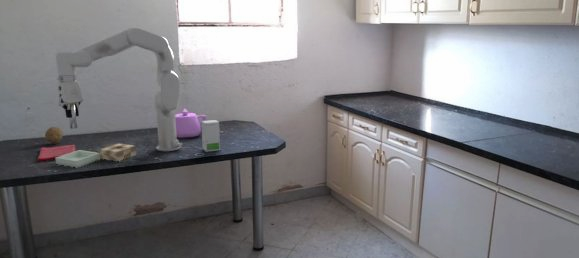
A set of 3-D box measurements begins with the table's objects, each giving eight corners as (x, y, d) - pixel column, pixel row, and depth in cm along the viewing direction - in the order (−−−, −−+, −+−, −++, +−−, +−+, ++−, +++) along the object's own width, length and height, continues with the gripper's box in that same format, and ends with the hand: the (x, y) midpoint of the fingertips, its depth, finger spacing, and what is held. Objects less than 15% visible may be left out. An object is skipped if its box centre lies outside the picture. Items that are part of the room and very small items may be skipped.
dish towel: (36, 163, 214) (36, 158, 213) (40, 151, 235) (39, 146, 234) (75, 159, 221) (74, 154, 221) (75, 147, 242) (74, 142, 241)
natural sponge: (62, 145, 244) (59, 128, 241) (44, 147, 241) (42, 129, 239) (65, 141, 252) (62, 124, 250) (48, 142, 250) (45, 125, 247)
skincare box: (205, 152, 229) (204, 123, 225) (202, 149, 234) (200, 121, 231) (220, 150, 233) (219, 121, 229) (217, 147, 238) (215, 119, 234)
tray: (100, 159, 218) (99, 153, 217) (77, 168, 205) (76, 161, 204) (80, 156, 223) (79, 150, 222) (56, 164, 211) (55, 157, 210)
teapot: (208, 137, 257) (206, 112, 254) (171, 140, 253) (169, 114, 249) (206, 128, 279) (205, 105, 275) (172, 130, 275) (171, 107, 271)
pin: (80, 127, 211) (77, 100, 208) (73, 129, 207) (70, 102, 204) (74, 126, 213) (71, 100, 210) (67, 128, 209) (63, 101, 206)
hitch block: (136, 154, 225) (135, 145, 224) (118, 161, 214) (117, 152, 213) (118, 152, 230) (117, 143, 228) (100, 158, 219) (99, 149, 218)
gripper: (58, 81, 196) (63, 121, 200) (87, 76, 210) (92, 114, 215) (46, 80, 198) (52, 119, 203) (76, 76, 213) (81, 113, 217)
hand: (72, 116), depth 209 cm, fingers closed on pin, 3 cm apart
